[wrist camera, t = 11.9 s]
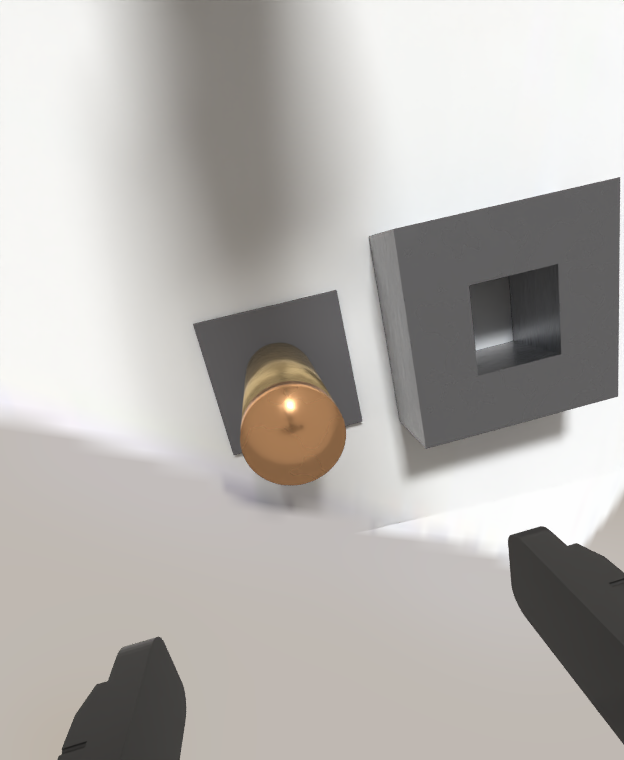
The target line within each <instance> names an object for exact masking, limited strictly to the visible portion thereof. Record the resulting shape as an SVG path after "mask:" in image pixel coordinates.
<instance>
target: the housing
mask: <svg viewBox="0 0 624 760" xmlns="http://www.w3.org/2000/svg"><path fill="white" fill-rule="evenodd" d="M619 237H620V177H619V178H615V179H610V180H606V181H602V182H597V183H593V184H588V185H584V186H580V187H575V188H571V189H567V190H562V191H558V192H554V193H549V194H545V195H540V196H536V197H532V198H527V199H523V200H519V201H514V202H510V203H506V204H501V205H497V206H492V207H488V208H484V209H479V210H475V211H471V212H466V213H462V214H458V215H453V216H449V217H444V218H440V219H436V220H431V221H427V222H423V223H418V224H414V225H409V226H405V227H401V228H396V229H392V230H389V231H386V232H382V233H379V234H375V235H372V236H369V240H370V246H371V252H372V258H373V264H374V270H375V276H376V282H377V288H378V293H379V299H380V305H381V311H382V317H383V323H384V329H385V335H386V341H387V347H388V353H389V359H390V365H391V371H392V377H393V383H394V389H395V395H396V401H397V407H398V413H399V419H400V422H401V423H402V424H403V425H404V426H405V427H406V428H407V429H408V430H409V431H410V432H411V433H412V434H413V436H414V437H415V438H416V439H417V440H418V441H419V442H420V443H421V444H422V445H423V446H424V447H425V448H426V449H427V448H430V447H434V446H438V445H441V444H445V443H449V442H452V441H456V440H460V439H463V438H467V437H471V436H474V435H478V434H482V433H486V432H489V431H493V430H497V429H500V428H504V427H508V426H511V425H515V424H519V423H522V422H526V421H530V420H533V419H537V418H541V417H544V416H548V415H552V414H555V413H559V412H563V411H566V410H570V409H574V408H577V407H581V406H585V405H588V404H592V403H596V402H599V401H603V400H607V399H610V398H614V397H618V343H619ZM506 276H509V283H510V297H511V311H512V325H513V340H514V341H512V342H508V343H504V344H500V345H496V346H493V347H489V348H485V349H481V350H477V351H476V350H475V340H474V330H473V320H472V310H471V300H470V290H469V285H473V284H477V283H482V282H486V281H490V280H494V279H498V278H502V277H506Z"/></svg>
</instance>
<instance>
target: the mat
mask: <svg viewBox="0 0 624 760" xmlns="http://www.w3.org/2000/svg"><path fill="white" fill-rule="evenodd" d="M193 325H194V329H195V332H196V335H197V338H198V341H199V345H200V348H201V351H202V354H203V358H204V361H205V364H206V367H207V370H208V374H209V377H210V380H211V383H212V387H213V390H214V393H215V396H216V399H217V403H218V406H219V409H220V412H221V416H222V419H223V422H224V425H225V428H226V432H227V435H228V438H229V441H230V445H231V448H232V451H233V454H234V455H236V454H240V453H242V450H241V445H240V432H241V420H242V409H243V398H244V387H245V375H246V368H247V365H248V362H249V360H250V359H251V357H252V356H253V355H254V354H255V352H257V351H258V350H259V349H260V348H262V347H264V346H266V345H269V344H272V343H287V344H291V345H293V346H295V347H297V348H299V349H300V350H301V351H302V352H304V354H305V355H306V356H307V357H308V359H309V361H310V362H311V364H312V366H313V367H314V369H315V371H316V372H317V374H318V376H319V377H320V379H321V381H322V382H323V384H324V386H325V387H326V389H327V391H328V392H329V394H330V396H331V397H332V399H333V401H334V402H335V404H336V406H337V407H338V409H339V411H340V412H341V414H342V417H343V419H344V423H345V426H346V425H350V424H354V423H358V422H362V417H361V412H360V407H359V402H358V397H357V392H356V387H355V382H354V377H353V372H352V366H351V361H350V356H349V351H348V346H347V341H346V336H345V331H344V326H343V321H342V316H341V311H340V306H339V301H338V296H337V291H336V290H334V291H330V292H326V293H322V294H318V295H313V296H309V297H305V298H301V299H297V300H292V301H288V302H284V303H280V304H276V305H271V306H267V307H263V308H259V309H255V310H250V311H246V312H242V313H238V314H233V315H229V316H225V317H221V318H217V319H212V320H208V321H204V322H200V323H196V324H193Z"/></svg>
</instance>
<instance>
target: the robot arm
mask: <svg viewBox="0 0 624 760" xmlns="http://www.w3.org/2000/svg"><path fill="white" fill-rule="evenodd" d="M508 547H509V559H510V572H511V584H512V590H513V593H514V596H515V599H516V601H517V603H518V605H519V607H520V609H521V611H522V612H523V614H524V615H525V617H526V618H527V620H528V621H529V622H530V624H531V625H532V626H533V627H534V629H535V630H536V631H537V632H538V634H539V635H540V636H541V638H542V639H543V640H544V642H545V643H546V644H547V645H548V647H549V648H550V649H551V651H552V652H553V653H554V655H555V656H556V657H557V658H558V660H559V661H560V662H561V664H562V665H563V666H564V668H565V669H566V670H567V671H568V673H569V674H570V675H571V677H572V678H573V679H574V681H575V682H576V683H577V684H578V686H579V687H580V688H581V690H582V691H583V692H584V693H585V695H586V696H587V697H588V699H589V700H590V701H591V703H592V704H593V705H594V706H595V708H596V709H597V710H598V712H599V713H600V714H601V716H602V717H603V718H604V719H605V721H606V722H607V723H608V725H609V726H610V727H611V729H612V730H613V731H614V732H615V734H616V735H617V736H618V738H619V739H620V740H621V741H622V743H623V744H624V573H623V572H622V571H621V570H620V569H619V568H617V567H616V566H615V565H614V564H613V563H611V562H610V561H609V560H608V559H607V558H605V557H604V556H602V555H600V554H597V553H596V552H593V551H591V550H589V549H587V548H585V547H583V546H581V545H579V544H577V543H576V544H572V545H569V546H567V545H566V544H565V543H563V542H562V541H561V540H560V539H559V538H558V537H557V536H556V535H555V534H553V533H552V532H551V531H550V530H549V529H547V528H546V527H542V526H540V527H537V528H534V529H530V530H527V531H523V532H520V533H516V534H513V535H510V536H509V539H508ZM185 719H186V698H185V691H184V687H183V684H182V681H181V679H180V677H179V675H178V673H177V671H176V668H175V666H174V664H173V661H172V659H171V657H170V655H169V652H168V650H167V648H166V646H165V643H164V641H163V640H162V639H161V638H160V637H156V638H153V639H149V640H146V641H143V642H139V643H135V644H132V645H129V646H125V647H123V648H121V650H120V651H119V653H118V655H117V657H116V660H115V663H114V666H113V668H112V671H111V674H110V677H109V680H108V681H107V682H104V683H100V684H97V685H96V686H95V687H94V689H93V690H92V692H91V693H90V695H89V696H88V697H87V699H86V700H85V702H84V703H83V705H82V706H81V708H80V709H79V710H78V712H77V713H76V715H75V717H74V719H73V722H72V724H71V727H70V729H69V732H68V735H67V737H66V740H65V742H64V745H63V747H62V755H60V756H59V757H58V760H180V752H181V746H182V740H183V733H184V726H185Z"/></svg>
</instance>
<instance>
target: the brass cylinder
mask: <svg viewBox="0 0 624 760" xmlns="http://www.w3.org/2000/svg"><path fill="white" fill-rule="evenodd" d="M345 440H346V428H345V423H344V419H343V417H342V414H341V412H340V411H339V409H338V407H337V406H336V404H335V402H334V401H333V399H332V397H331V396H330V394H329V392H328V391H327V389H326V387H325V386H324V384H323V382H322V381H321V379H320V377H319V376H318V374H317V372H316V371H315V369H314V367H313V366H312V364H311V362H310V361H309V359H308V357H307V356H306V355H305V354H304V352H302V351H301V350H300V349H299V348H297V347H295V346H293V345H291V344H287V343H272V344H269V345H266V346H264V347H262V348H260V349H259V350H258V351H257V352H255V354H254V355H253V356H252V357H251V359H250V360H249V362H248V365H247V368H246V375H245V387H244V398H243V409H242V420H241V432H240V445H241V450H242V453H243V456H244V458H245V460H246V462H247V463H248V465H249V466H250V467H251V469H252V470H253V471H254V472H255V473H257V474H258V475H259V476H261V477H262V478H264V479H266V480H268V481H270V482H273V483H276V484H281V485H301V484H305V483H308V482H311V481H314V480H316V479H318V478H320V477H321V476H323V475H324V474H325V473H327V472H328V471H329V470H330V469H331V468H332V467H333V466H334V465H335V464H336V462H337V461H338V459H339V458H340V456H341V454H342V451H343V449H344V445H345Z"/></svg>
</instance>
